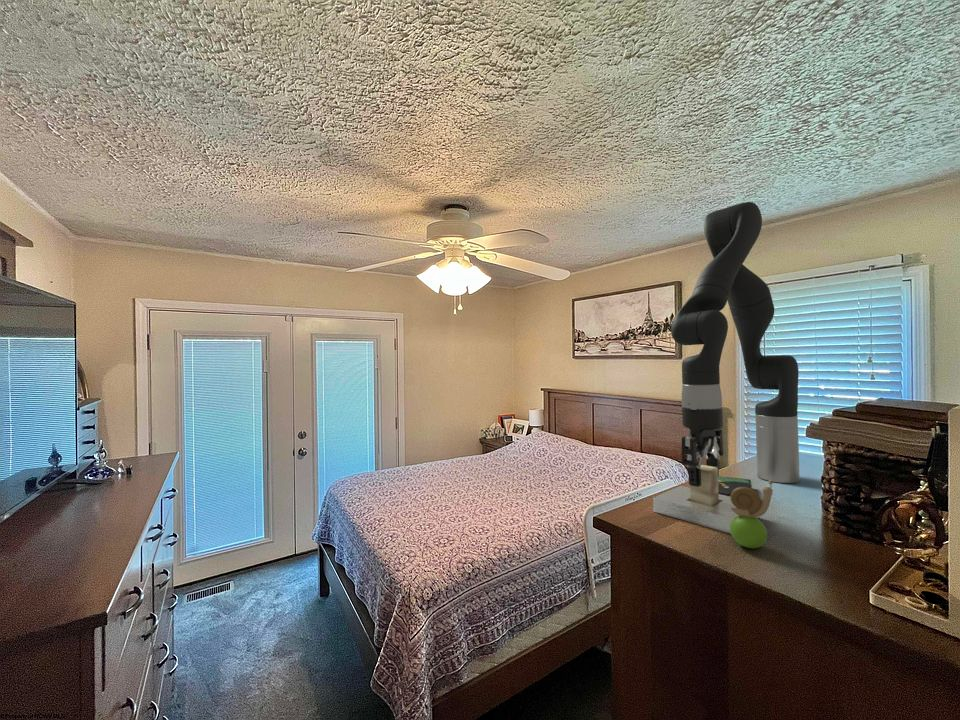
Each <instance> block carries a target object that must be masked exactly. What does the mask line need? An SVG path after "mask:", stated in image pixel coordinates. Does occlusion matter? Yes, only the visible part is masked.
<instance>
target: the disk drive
mask: <svg viewBox="0 0 960 720" xmlns="http://www.w3.org/2000/svg"><path fill="white" fill-rule="evenodd" d="M738 487H747V488H750V489H752V480H751V479H747V478H738V477H729V476H719V477H718V494H721V495H725V496H730V495H731V493H732V491H733V490H734V489H736V488H738ZM752 490H753V489H752Z"/></svg>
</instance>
